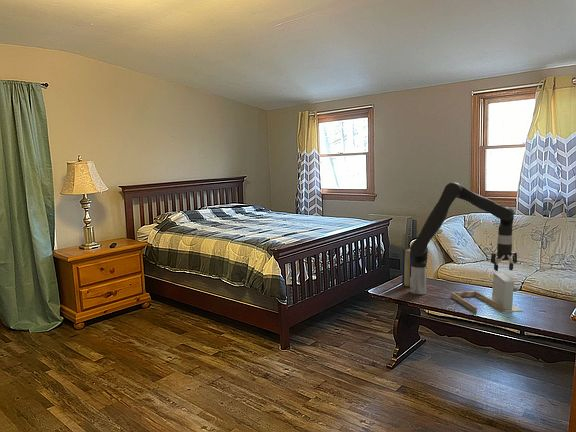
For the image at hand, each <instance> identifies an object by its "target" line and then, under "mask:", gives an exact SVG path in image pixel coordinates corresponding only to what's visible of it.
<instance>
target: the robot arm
mask: <svg viewBox="0 0 576 432" xmlns="http://www.w3.org/2000/svg"><path fill="white" fill-rule="evenodd" d="M440 195H441V196H440V197H439V199H438V201H437V203H436V204H435V206H434V208H433V209H432V210H431V212H430V213H429V215H428V217H427V218H426V220H425V222H424V225H423V227H422V229H421V230H420V233H419V234H418V235H417V237H416V238H415V240H414V241H413V243H412V244H411V245H410V247H409V248H410V251H411V254H412V255H413V258H412V262H411V277H410V286H409V292H410V293H411V294H412V295H425V294H426V293H427V262H428V251H429V250H428V245H429V243H430V241H431V240H432V238H433V237H435V235H436V234H437V233H438V232H439V230H440V229H441V227H442V226H443V225H444V222H445V220H446V217H447V215H448V213H449V209H450V207H451V205H452V204H453V202H454V201H455V199H460V200H464V201H466V202H468V203H469V204H471V205H473V206H474V207H476V208H477V209H480V210H482V211H483V212H486V213H489V214H491V215H492V216H494V217H496V218H498V219H499V220H500V222H499V225H498V230H497V231H498V232H497V233H498V235H497V242H496V243H497V244H496V246H497V247H496V251H497V252H491V255H490V256H491V257H490V263H491V264H493V270H494V271H495V272H498V271H499V263H501V262H502V261H503V262H504V261H507V262H508V263H509V264H508V270H509V271H513V270H514V264H517V263H518V252H515V251H513V224H514V217H515V212H514V209H512V208H511V207H509V206H505V207H504V206H502V205H500V204H498V203H497V201H494V200H493V199H489V198H487V197H485V196H482V195H480V194H478V193H475V192H473V191H471V190H470V189H468V188H466V187H465V186H463V185H462V184H460V183H458V182H449V183H447V184H446V185H445V186H444V189H443V191H442V193H441V194H440Z"/></svg>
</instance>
